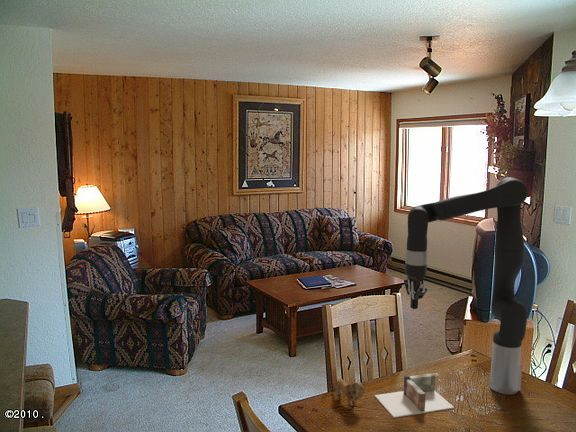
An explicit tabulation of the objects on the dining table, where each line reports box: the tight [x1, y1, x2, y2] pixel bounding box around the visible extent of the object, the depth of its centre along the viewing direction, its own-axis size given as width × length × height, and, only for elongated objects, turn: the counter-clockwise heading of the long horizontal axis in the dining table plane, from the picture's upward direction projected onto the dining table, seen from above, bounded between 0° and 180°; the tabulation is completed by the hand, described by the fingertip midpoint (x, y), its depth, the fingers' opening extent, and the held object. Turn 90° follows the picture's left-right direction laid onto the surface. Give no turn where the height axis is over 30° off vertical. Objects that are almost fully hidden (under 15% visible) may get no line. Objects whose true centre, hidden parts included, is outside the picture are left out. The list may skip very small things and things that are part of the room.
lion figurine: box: [330, 378, 367, 410], centre depth 167 cm, size 15×5×9 cm, turn 40°
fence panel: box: [406, 380, 426, 410], centre depth 166 cm, size 10×2×6 cm, turn 14°
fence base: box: [403, 372, 436, 395], centre depth 173 cm, size 12×2×6 cm, turn 106°
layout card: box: [374, 390, 455, 419], centre depth 167 cm, size 22×14×1 cm, turn 106°
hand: (413, 308), depth 181 cm, fingers closed
